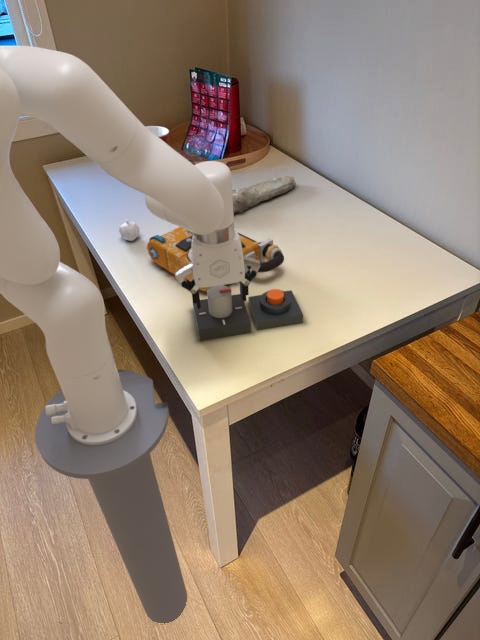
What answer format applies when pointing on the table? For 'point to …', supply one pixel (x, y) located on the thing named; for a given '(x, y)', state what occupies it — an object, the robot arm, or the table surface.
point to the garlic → (129, 230)
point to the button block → (275, 311)
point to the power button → (275, 297)
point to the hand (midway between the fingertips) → (220, 301)
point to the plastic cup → (159, 132)
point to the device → (176, 252)
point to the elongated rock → (260, 192)
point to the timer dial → (219, 301)
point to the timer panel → (222, 320)
